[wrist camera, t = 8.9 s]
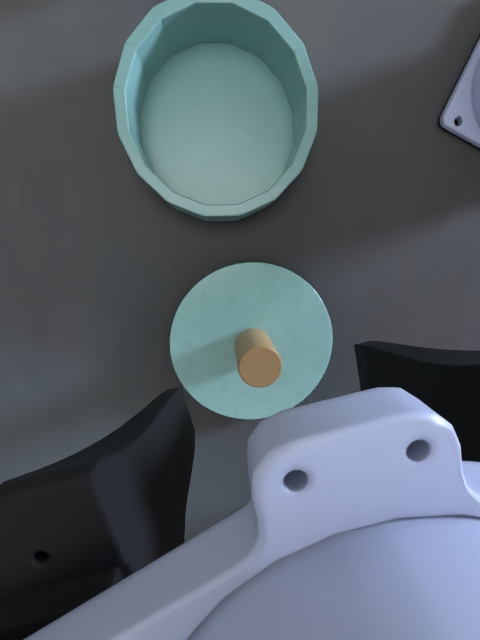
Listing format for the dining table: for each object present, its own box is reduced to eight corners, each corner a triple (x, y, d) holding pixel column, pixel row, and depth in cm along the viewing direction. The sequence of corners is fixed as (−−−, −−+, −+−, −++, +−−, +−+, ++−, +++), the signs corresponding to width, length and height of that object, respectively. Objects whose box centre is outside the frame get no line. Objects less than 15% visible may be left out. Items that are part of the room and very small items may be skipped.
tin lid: (328, 257, 21) (362, 260, 16) (326, 406, 24) (355, 448, 19) (164, 265, 21) (147, 271, 16) (179, 417, 23) (168, 463, 18)
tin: (301, 37, 18) (320, -11, 15) (299, 219, 20) (316, 213, 17) (123, 36, 18) (101, -15, 14) (141, 223, 20) (126, 218, 16)
